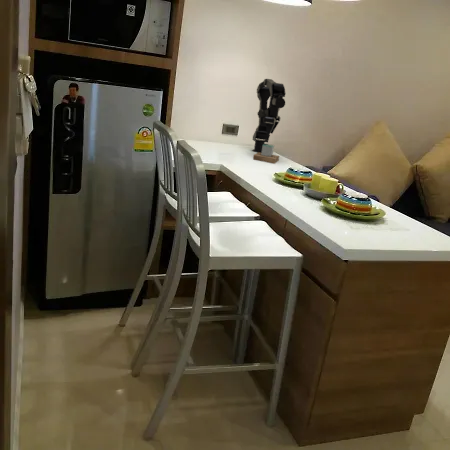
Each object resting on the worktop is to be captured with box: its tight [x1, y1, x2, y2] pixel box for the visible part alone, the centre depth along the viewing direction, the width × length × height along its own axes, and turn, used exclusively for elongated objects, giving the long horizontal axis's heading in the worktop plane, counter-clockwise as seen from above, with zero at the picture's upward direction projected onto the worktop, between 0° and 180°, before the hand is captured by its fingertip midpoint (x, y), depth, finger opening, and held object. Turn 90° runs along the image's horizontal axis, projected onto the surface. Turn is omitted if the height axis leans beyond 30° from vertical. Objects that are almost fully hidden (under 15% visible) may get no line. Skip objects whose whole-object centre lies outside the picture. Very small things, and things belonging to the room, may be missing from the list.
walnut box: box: [252, 152, 280, 164], centre depth 287 cm, size 12×12×3 cm
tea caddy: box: [260, 143, 275, 157], centre depth 286 cm, size 6×6×6 cm
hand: (269, 134), depth 292 cm, fingers open, 9 cm apart
